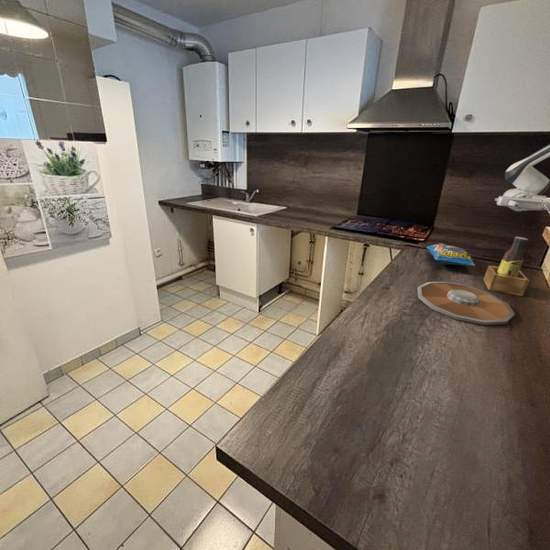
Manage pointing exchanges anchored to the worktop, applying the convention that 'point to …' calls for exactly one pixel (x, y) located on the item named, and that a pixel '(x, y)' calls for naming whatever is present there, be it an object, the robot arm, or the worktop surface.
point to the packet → (450, 255)
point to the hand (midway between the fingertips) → (530, 205)
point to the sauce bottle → (513, 258)
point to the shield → (465, 303)
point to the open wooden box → (505, 282)
